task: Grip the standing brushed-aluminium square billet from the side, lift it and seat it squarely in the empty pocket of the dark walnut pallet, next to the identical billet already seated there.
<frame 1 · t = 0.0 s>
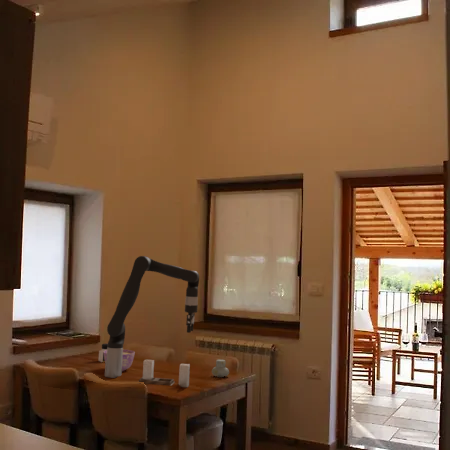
hand: (189, 331, 328), 29 cm above the table, tool pointing down, fingers open, 8 cm apart
billet: (183, 386, 314), on the table
pallet: (156, 384, 315), on the table
air freshener: (220, 376, 345), on the table
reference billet: (147, 381, 316), point 1 cm above the table, touching pallet
medicine bottle: (105, 361, 377), on the table
bowl of food: (118, 370, 350), on the table
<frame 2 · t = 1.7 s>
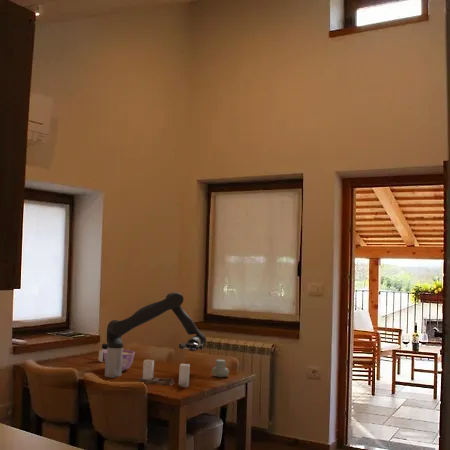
hand: (189, 348, 327), 20 cm above the table, tool horizontal, fingers open, 8 cm apart
nothing on the table moved.
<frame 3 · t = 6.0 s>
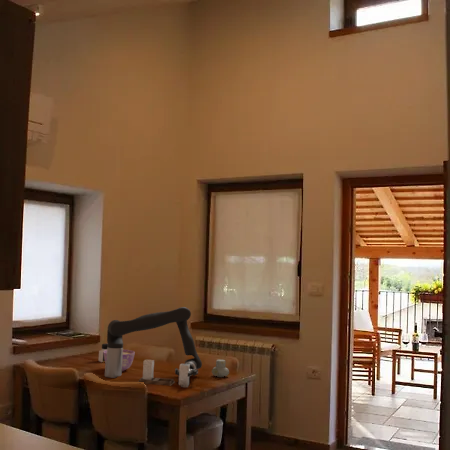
hand: (183, 374, 312), 7 cm above the table, tool horizontal, fingers closed on billet, 5 cm apart
billet: (183, 386, 314), on the table, touching gripper
everything else where it was.
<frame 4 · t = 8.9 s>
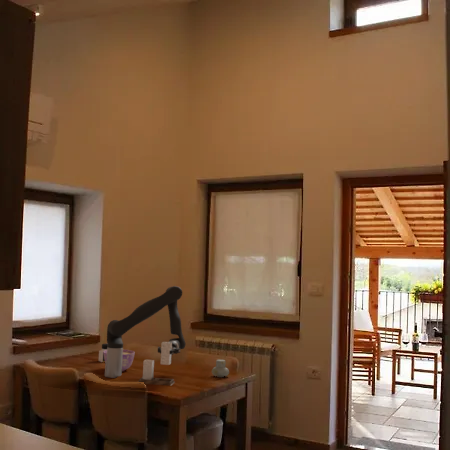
hand: (165, 352, 313), 19 cm above the table, tool horizontal, fingers closed on billet, 5 cm apart
billet: (165, 363, 316), point 12 cm above the table, touching gripper
everything else where it was.
when the fingers open (9 cm above the table, at t = 11.7 s): billet stays where it is, resting on pallet.
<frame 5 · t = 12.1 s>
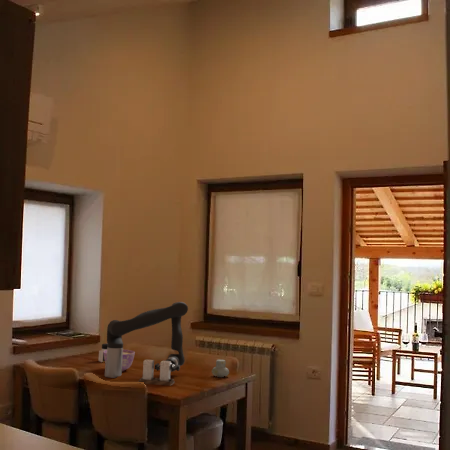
hand: (164, 369, 314), 9 cm above the table, tool horizontal, fingers open, 8 cm apart
billet: (164, 382, 315), point 1 cm above the table, touching pallet
everything else where it was.
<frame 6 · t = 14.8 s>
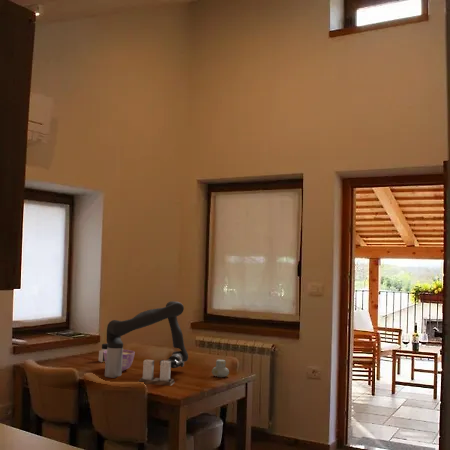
hand: (169, 365, 326), 9 cm above the table, tool horizontal, fingers open, 8 cm apart
nothing on the table moved.
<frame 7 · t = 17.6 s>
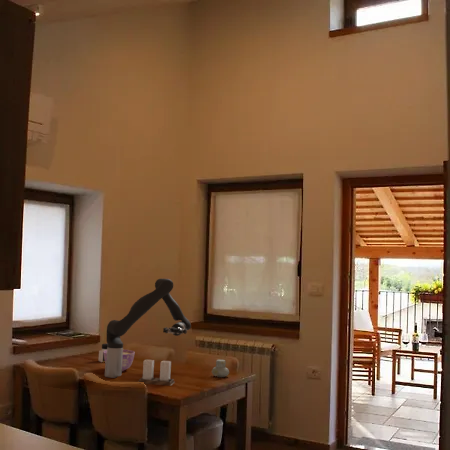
hand: (173, 331, 333), 28 cm above the table, tool horizontal, fingers open, 8 cm apart
nothing on the table moved.
at the end: billet 0.0 cm from the target spot on the pallet, point 1.0 cm above the pallet's base; billet tilted 0°; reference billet moved 0.0 cm from its start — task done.
